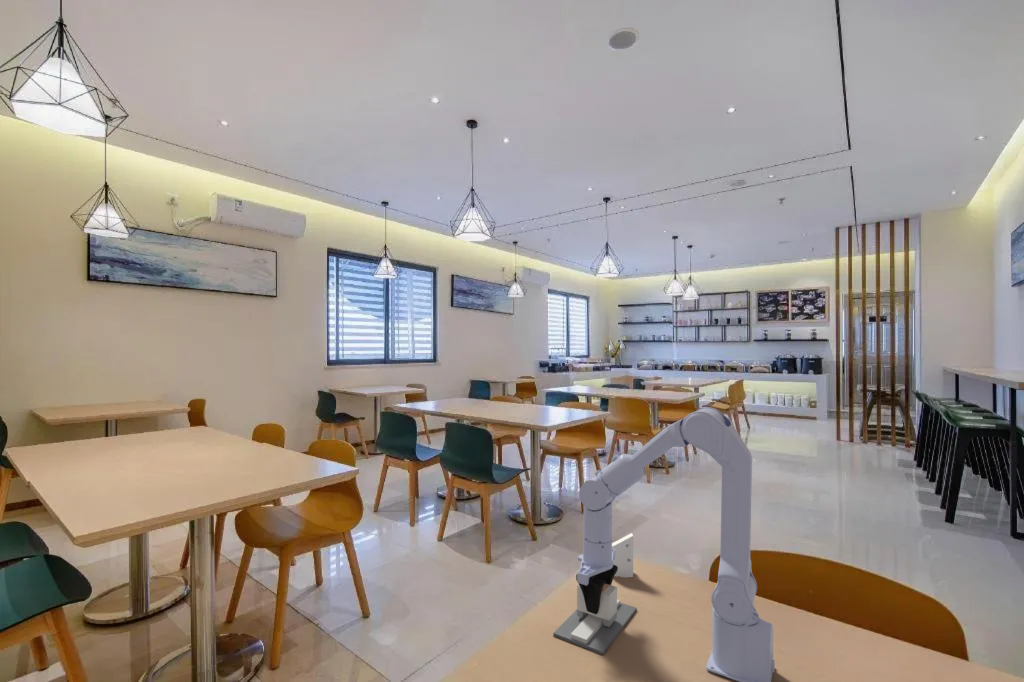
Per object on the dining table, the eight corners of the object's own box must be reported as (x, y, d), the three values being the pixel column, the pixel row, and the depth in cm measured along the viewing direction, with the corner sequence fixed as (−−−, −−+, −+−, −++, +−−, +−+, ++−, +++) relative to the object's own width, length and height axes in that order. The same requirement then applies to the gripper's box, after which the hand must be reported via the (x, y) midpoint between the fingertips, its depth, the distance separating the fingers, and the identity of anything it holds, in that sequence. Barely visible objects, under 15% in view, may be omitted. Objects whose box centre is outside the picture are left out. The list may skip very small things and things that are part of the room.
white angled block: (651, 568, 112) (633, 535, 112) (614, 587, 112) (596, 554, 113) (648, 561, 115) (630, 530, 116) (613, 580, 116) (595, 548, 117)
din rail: (636, 610, 98) (636, 603, 98) (602, 655, 83) (602, 647, 83) (592, 596, 103) (592, 590, 103) (553, 635, 88) (553, 628, 88)
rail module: (616, 617, 93) (617, 585, 93) (609, 627, 89) (609, 594, 90) (585, 607, 96) (585, 576, 97) (577, 615, 93) (577, 584, 93)
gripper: (593, 523, 102) (593, 586, 101) (563, 545, 90) (562, 617, 89) (624, 530, 98) (624, 596, 97) (597, 554, 86) (596, 629, 85)
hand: (597, 607), depth 93 cm, fingers closed on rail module, 4 cm apart
